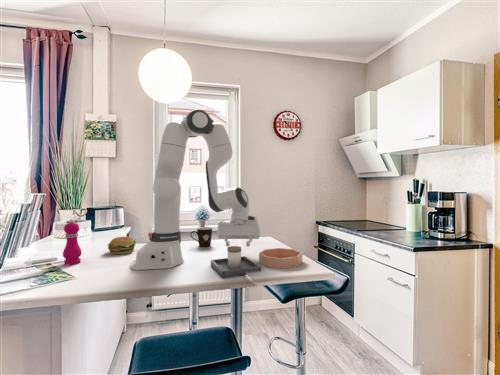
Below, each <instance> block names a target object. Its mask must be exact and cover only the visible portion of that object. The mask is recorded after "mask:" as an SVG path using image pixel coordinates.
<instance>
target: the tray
mask: <svg viewBox="0 0 500 375" xmlns="http://www.w3.org/2000/svg"><path fill="white" fill-rule="evenodd" d="M210 266H211V267H212V269H213V270H214V271H215V273H217V274H218V275H219V276H220V277H221V279H227V278H235V277H242V276H247V274H248V273H255V272H261V271H262V266H260V265H259V264H257V263H256V262H255V261H253V260H251V259H250V258H248V257H247V256H245V255H244V256H242V255H241V267H240V268H237V269H231V268H228V257H224V258H217V259H210Z"/></svg>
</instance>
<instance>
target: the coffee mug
mask: <svg viewBox="0 0 500 375" xmlns="http://www.w3.org/2000/svg"><path fill="white" fill-rule="evenodd" d="M193 233H195V234H196V235H197V239H196V238H194V237H193V236H192V234H193ZM212 234H213V227H210V226H202V227H201V226H200V227H198V228H196V230H193V231H191V232H190V234H189V235H190V237H191V238H192V239H193V240H194V241H196V242H198V245H199V248H210V247H211V244H212V243H211V242H212V236H213V235H212Z"/></svg>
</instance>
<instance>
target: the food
mask: <svg viewBox="0 0 500 375" xmlns="http://www.w3.org/2000/svg"><path fill="white" fill-rule="evenodd" d="M136 242H137V241H136V239H134V240H133V238H131V237H129V236H117V237H114V238H112V239H111V240H110V242H109V243H108V244H106V246H108V247H107V249H108V250H109V253H110V254H112V255H126V254H130V253H133V252H134V251H135V247H136Z"/></svg>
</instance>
